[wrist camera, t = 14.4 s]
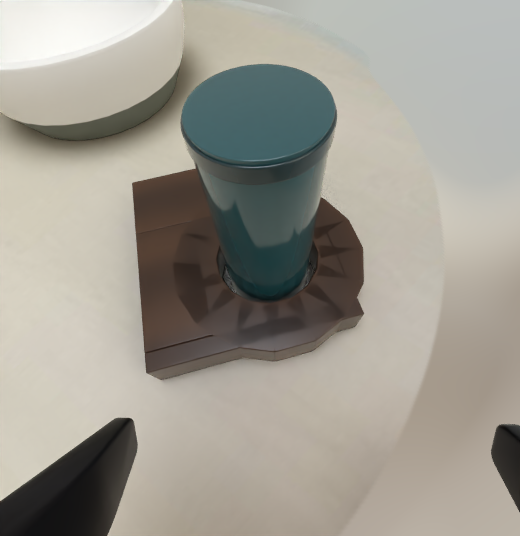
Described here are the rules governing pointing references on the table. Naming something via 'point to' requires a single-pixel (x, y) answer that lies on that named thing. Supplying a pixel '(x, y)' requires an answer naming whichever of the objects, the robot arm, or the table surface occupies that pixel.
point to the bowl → (88, 63)
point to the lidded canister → (262, 170)
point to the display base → (219, 294)
